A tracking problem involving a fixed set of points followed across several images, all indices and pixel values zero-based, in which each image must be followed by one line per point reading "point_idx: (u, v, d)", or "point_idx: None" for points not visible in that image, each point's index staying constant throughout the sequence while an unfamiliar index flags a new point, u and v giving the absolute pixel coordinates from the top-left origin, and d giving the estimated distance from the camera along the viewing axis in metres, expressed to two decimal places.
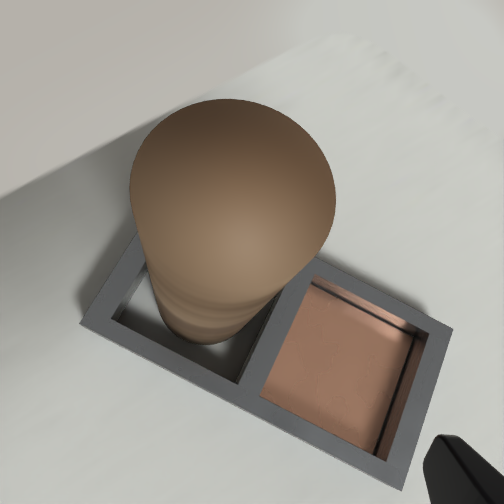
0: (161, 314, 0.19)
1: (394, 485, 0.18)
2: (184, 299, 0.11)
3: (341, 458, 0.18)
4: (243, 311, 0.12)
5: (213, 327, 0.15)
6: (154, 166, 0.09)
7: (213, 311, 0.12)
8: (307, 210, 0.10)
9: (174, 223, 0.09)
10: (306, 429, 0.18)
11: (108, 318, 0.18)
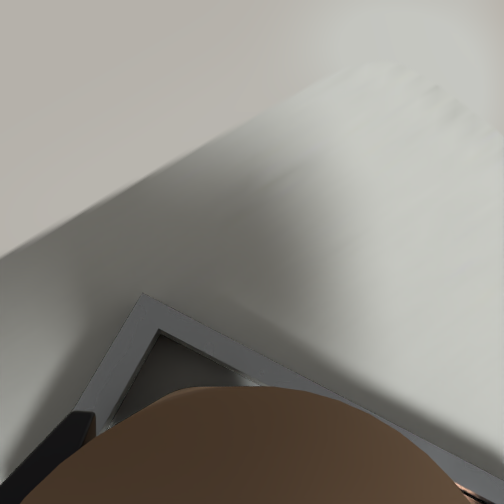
0: None
1: None
2: None
3: None
4: None
5: None
6: None
7: None
8: None
9: None
10: None
11: None
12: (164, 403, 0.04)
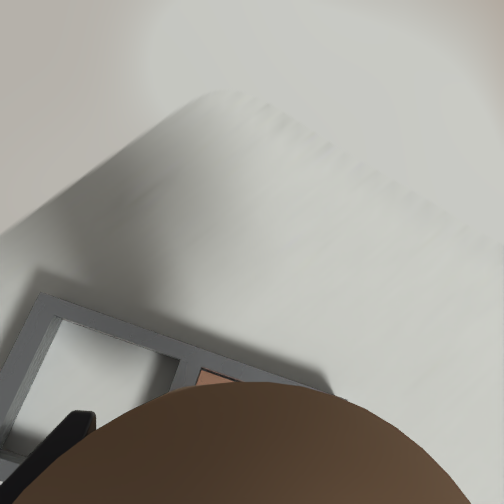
0: None
1: None
2: None
3: None
4: None
5: None
6: None
7: None
8: None
9: None
10: None
11: None
12: (161, 398, 0.04)
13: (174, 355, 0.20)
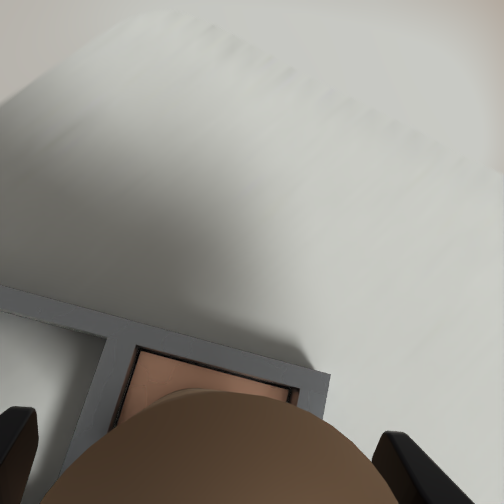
0: None
1: None
2: None
3: None
4: None
5: None
6: None
7: None
8: None
9: None
10: None
11: None
12: (162, 405, 0.05)
13: (98, 332, 0.15)
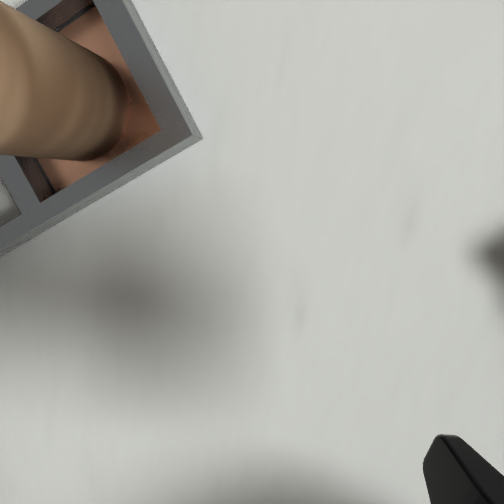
0: None
1: (183, 137, 0.17)
2: None
3: (130, 169, 0.17)
4: None
5: (14, 130, 0.13)
6: None
7: None
8: None
9: None
10: (89, 182, 0.18)
11: None
12: None
13: None
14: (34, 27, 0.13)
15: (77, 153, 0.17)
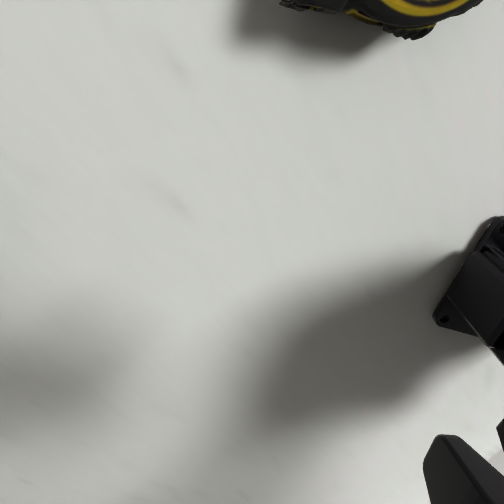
0: None
1: None
2: None
3: None
4: None
5: None
6: None
7: None
8: None
9: None
10: None
11: None
12: None
13: None
14: None
15: None
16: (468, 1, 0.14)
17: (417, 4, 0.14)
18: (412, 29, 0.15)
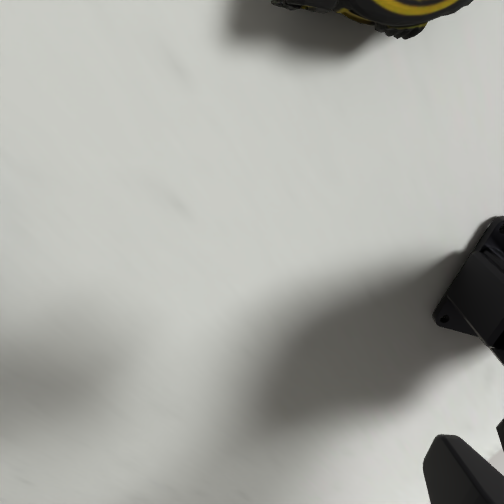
0: None
1: None
2: None
3: None
4: None
5: None
6: None
7: None
8: None
9: None
10: None
11: None
12: None
13: None
14: None
15: None
16: (459, 0, 0.14)
17: (407, 3, 0.14)
18: (403, 28, 0.15)
